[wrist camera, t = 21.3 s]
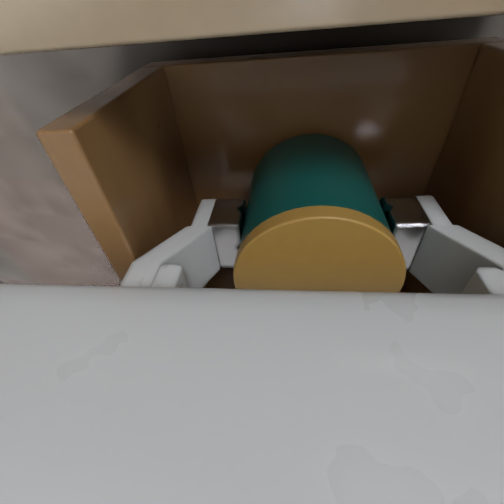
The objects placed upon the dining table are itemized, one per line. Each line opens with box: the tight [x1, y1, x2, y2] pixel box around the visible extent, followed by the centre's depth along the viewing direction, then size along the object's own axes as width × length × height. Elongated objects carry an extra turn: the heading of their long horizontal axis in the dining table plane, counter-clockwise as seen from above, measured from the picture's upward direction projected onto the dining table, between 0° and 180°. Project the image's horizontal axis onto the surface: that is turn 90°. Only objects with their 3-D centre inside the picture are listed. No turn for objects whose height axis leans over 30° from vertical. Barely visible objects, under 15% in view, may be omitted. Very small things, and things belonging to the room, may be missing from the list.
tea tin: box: [233, 134, 406, 292], centre depth 10 cm, size 4×4×5 cm
